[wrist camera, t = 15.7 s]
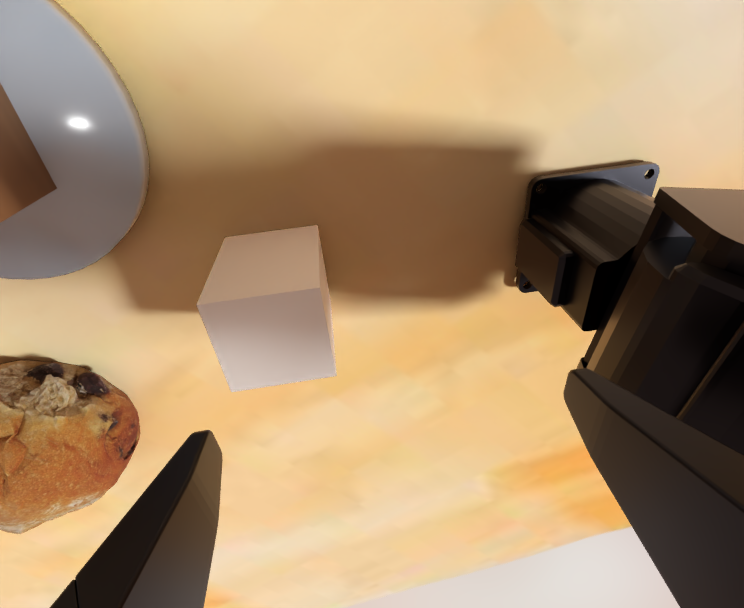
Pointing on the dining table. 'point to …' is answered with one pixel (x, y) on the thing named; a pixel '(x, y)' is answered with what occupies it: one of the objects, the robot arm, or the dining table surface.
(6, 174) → the walnut block
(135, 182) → the dish
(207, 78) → the dining table surface
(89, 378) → the bread roll
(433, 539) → the dining table surface
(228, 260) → the beige block
